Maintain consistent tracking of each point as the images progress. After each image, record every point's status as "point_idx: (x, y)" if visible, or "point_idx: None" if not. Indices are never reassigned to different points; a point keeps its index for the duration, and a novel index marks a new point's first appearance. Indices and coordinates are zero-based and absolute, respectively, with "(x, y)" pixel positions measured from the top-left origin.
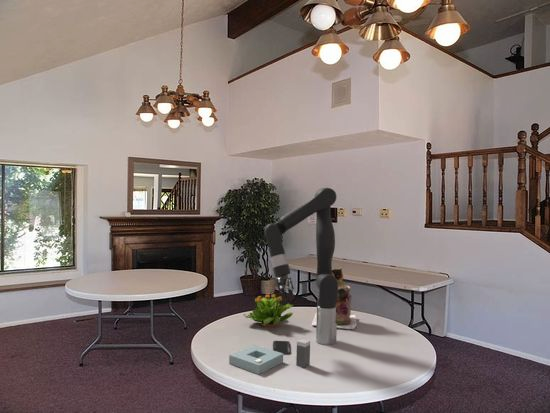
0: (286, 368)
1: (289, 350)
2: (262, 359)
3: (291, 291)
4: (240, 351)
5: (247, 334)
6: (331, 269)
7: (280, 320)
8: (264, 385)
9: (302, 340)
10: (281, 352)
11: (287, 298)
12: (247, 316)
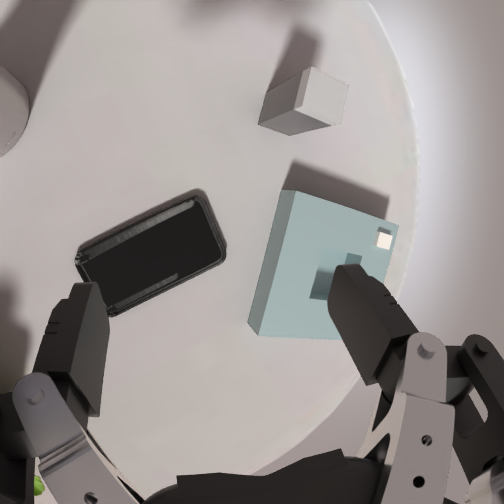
0: (322, 160)
1: (174, 207)
2: (365, 236)
3: (74, 376)
4: (333, 333)
5: (100, 428)
6: None
7: None
8: (416, 183)
9: (322, 100)
10: (215, 227)
11: (364, 272)
12: (41, 481)
